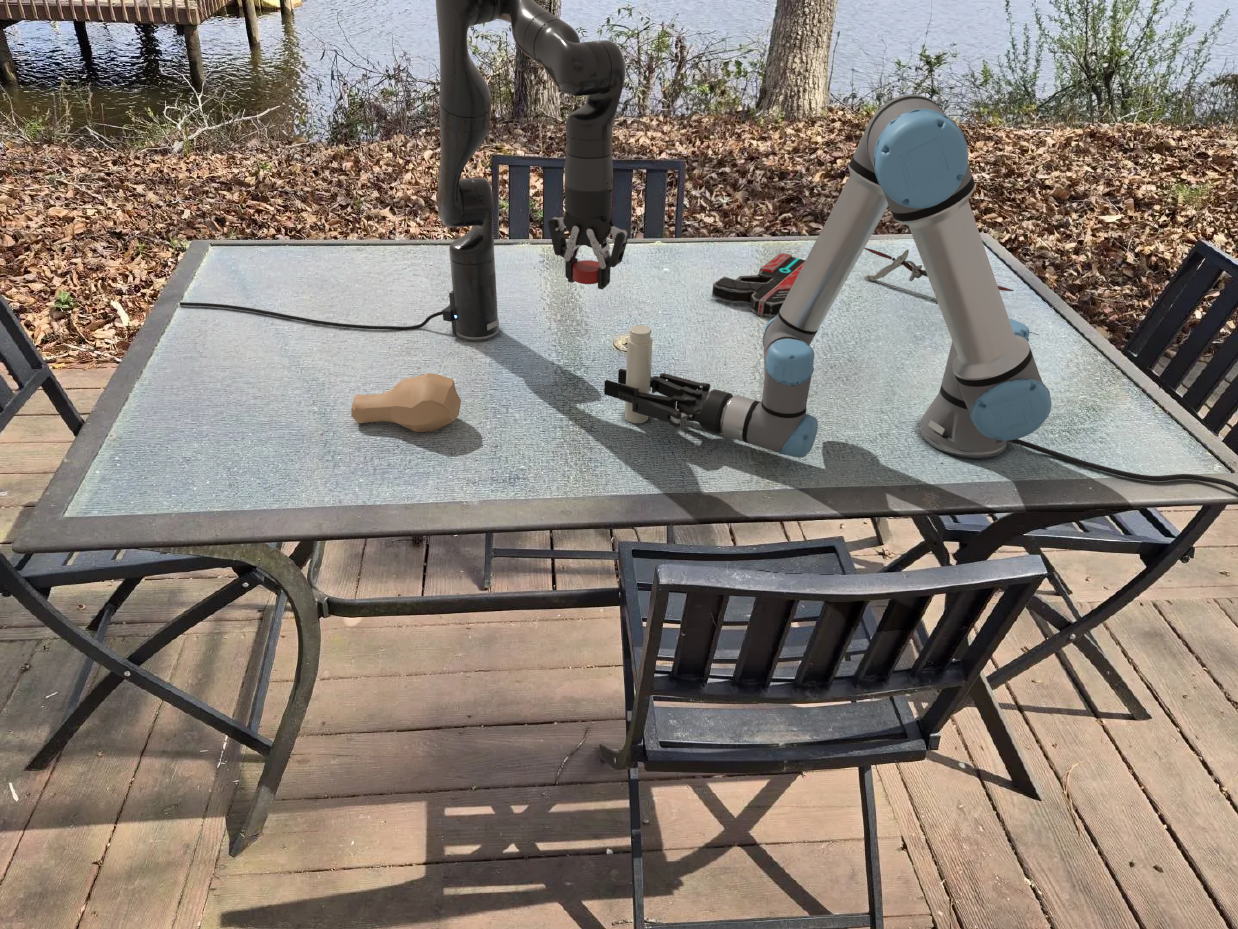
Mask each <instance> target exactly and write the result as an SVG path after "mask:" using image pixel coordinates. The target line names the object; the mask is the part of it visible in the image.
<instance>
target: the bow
mask: <svg viewBox="0 0 1238 929" xmlns="http://www.w3.org/2000/svg"><path fill="white" fill-rule="evenodd" d="M864 250H866V251H868V252H870V253H871V254H874V255H876V256H879V257H881V258H885V259H888V260H891V261H892V263H890V264H888V265H886V266H885V267H883V268H881V269H880V270H878V271H877V273H876V274H872V275H871V274H868V275H865V277H864V278H865V279H866V280H868V281H870V282H874V281H875V282H878V283H881V284H884V285H887V286H890V287H894V288H897V289H900V290H904V291H906V292H910V293H913V294H917V295H919V296H922V297H926V298H930V299H933V300H936V301H937V299H936V297H932V296H928V295H925V294H922V293H920V292H919V293H918V292H915V291H913V290H908V289H906V288H903V287H899V286H896V285H892V284H890V283H886V282H883V281H880V280H879V279H881V278H885V277H886V276H887V275H888V274H890V273H891V272H893V271H894V270H897V268H899V267H901V266H903V267H904V268H905V269H907V270H908V271H910V272H911V274H910V276H909V279H908V282H914V281H915V279H920V278H922V277H923V276H924V277H927V278H928V276H927V273H926V270H925V269H924V270H923V269H922V268H923V264H920V265H919V264H918V265H917V264H916V263H915V262H913V261H912V260H907V258H908V256H909V252H910V249H905V251H903V253H902V254H901V255H899V256H897V257H896V258H895V257H892V256H891V255H888V254H886V253H884V252H881V251H878V250H875V249H871V248H868V247H865V248H864ZM997 286H998V289H999V291H1003V292H1014V291H1015V290H1014V289H1011V288H1009V287H1004V286H1001V285H997Z"/></svg>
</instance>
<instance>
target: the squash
mask: <svg viewBox="0 0 1238 929" xmlns="http://www.w3.org/2000/svg"><path fill="white" fill-rule="evenodd" d="M461 404H462V399H461V398H460V395H459V394H458V392H457V388H456V385H455V381H454V379H453V378H449V377H447V376H443V375H441V374H437V373H431V372H427V373H425V374H424V373H423V374H420V375H417V376H414V377H413V376H412V377H407V378H403V379H402V380H400V381H399V382H397V383H396V384H395V386H393V388H392V389H390V390H388V391H386V392H384V393H375V394H357V395H354V396H353V401H352V404H351V409H350V410H351V412H350V414H351V416H350V417H352V419H353V420H354V421H355V422H356V424H366V423H372V422H387V423H394V424H398V425H400V426H402V427H404V428H406V429H408V430H410V431H412V432H415V433H422V432H423V433H425V432H435V431H438V430H439V429H442V428H444V427H445V426H447V425H449V424H452V423H453V422H455V421H456V419H457V418H458V416H459V415H460V409H461Z"/></svg>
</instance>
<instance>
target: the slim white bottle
mask: <svg viewBox="0 0 1238 929" xmlns="http://www.w3.org/2000/svg"><path fill="white" fill-rule="evenodd" d="M651 333H652V329H651V327H649V326H647V325H643V324H635V325H633V326H631V327H630V330H629V336H628V338H627V342H626V368H625V370H626V386H630V387H633V388H639V391H638V392H641V393H647V394H651V389H650V380H651V377H652V359H653V342H654V341H653V338H652V337H651V335H652V334H651ZM649 418H650V417H649V416H645V415H642V414H639V413H636V412H633V411H632V403H630V402H626V401H624V419H625V420H626V421H627V422H629V423H632V424H643V423H645V422H647V421H648V420H649Z"/></svg>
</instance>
